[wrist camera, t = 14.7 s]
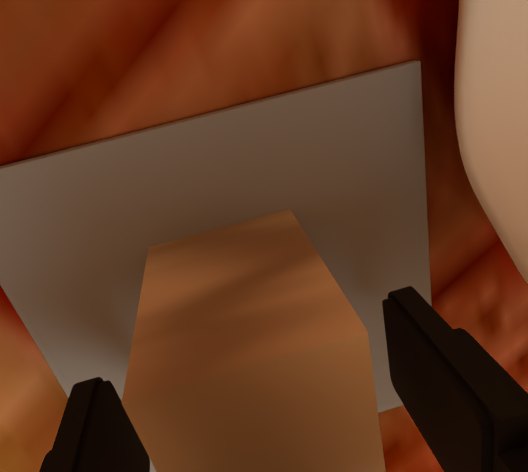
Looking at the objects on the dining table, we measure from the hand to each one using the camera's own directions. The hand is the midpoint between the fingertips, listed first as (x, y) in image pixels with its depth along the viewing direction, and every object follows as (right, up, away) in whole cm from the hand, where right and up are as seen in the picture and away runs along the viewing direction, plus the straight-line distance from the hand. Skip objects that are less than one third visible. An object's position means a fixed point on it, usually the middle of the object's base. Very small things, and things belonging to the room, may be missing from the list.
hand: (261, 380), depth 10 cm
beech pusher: (-1, +2, +2) cm, 3 cm away
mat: (-1, +1, +3) cm, 3 cm away
